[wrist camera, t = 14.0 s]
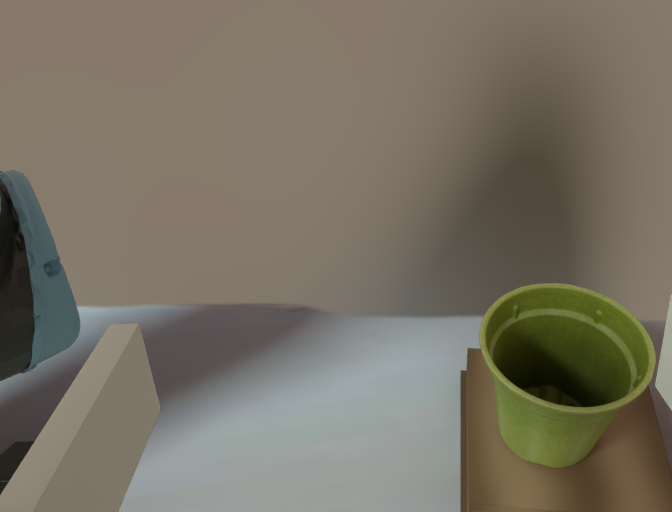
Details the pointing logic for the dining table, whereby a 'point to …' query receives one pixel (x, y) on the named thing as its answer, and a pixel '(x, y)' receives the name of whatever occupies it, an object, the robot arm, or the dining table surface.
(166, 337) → the dining table surface
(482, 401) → the walnut plinth
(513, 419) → the plant pot
